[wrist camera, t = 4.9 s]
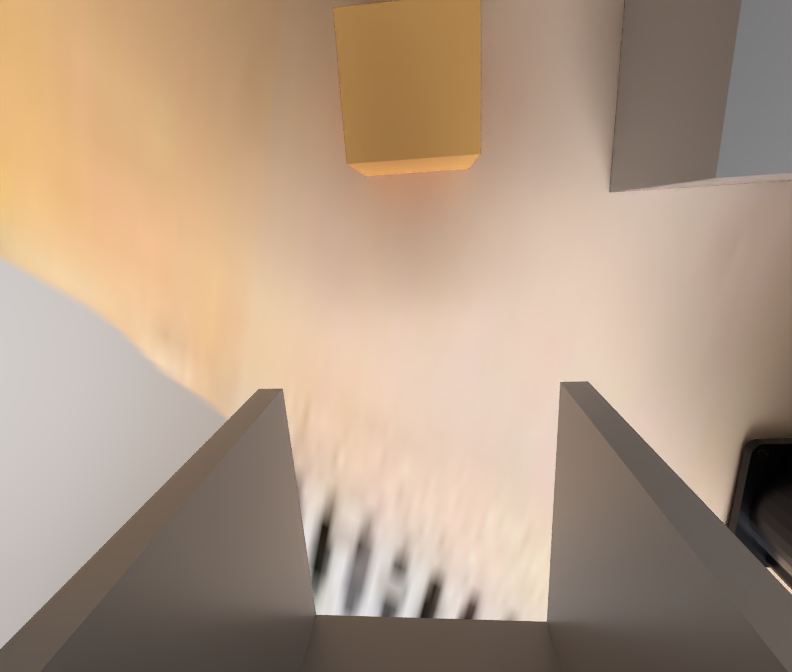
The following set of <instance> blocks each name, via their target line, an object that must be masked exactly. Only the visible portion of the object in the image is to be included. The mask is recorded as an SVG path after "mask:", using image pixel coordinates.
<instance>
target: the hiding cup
mask: <svg viewBox="0 0 792 672" xmlns="http://www.w3.org/2000/svg"><path fill="white" fill-rule="evenodd" d="M0 672H792V594H791V593H790V592H789V591H788V590H787V589H786V588H785V587H784V586H783V585H782V584H781V583H780V582H779V581H778V580H777V579H776V578H775V577H774V576H773V575H772V574H771V572H770V571H769V570H768V569H767V568H766V567H765V566H764V565H763V564H762V563H761V562H760V561H759V560H758V559H757V558H756V557H755V556H754V555H753V554H752V553H751V552H750V551H749V549H748V548H747V547H746V546H745V545H744V544H743V543H742V542H741V541H740V540H739V539H738V538H737V537H736V536H735V535H734V534H733V533H732V532H731V531H730V530H729V529H728V527H727V526H726V525H725V524H724V523H723V522H722V521H721V520H720V519H719V518H718V517H717V516H716V515H715V514H714V513H713V512H712V511H711V510H710V509H709V508H708V507H707V506H706V504H705V503H704V502H703V501H702V500H701V499H700V498H699V497H698V496H697V495H696V494H695V493H694V492H693V491H692V490H691V489H690V488H689V487H688V486H687V485H686V484H685V482H684V481H683V480H682V479H681V478H680V477H679V476H678V475H677V474H676V473H675V472H674V471H673V470H672V469H671V468H670V467H669V466H668V465H667V464H666V463H665V462H664V461H663V459H662V458H661V457H660V456H659V455H658V454H657V453H656V452H655V451H654V450H653V449H652V448H651V447H650V446H649V445H648V444H647V443H646V442H645V441H644V440H643V439H642V437H641V436H640V435H639V434H638V433H637V432H636V431H635V430H634V429H633V428H632V427H631V426H630V425H629V424H628V423H627V422H626V421H625V420H624V419H623V418H622V417H621V416H620V414H619V413H618V412H617V411H616V410H615V409H614V408H613V407H612V406H611V405H610V404H609V403H608V402H607V401H606V400H605V399H604V398H603V397H602V396H601V395H600V394H599V392H598V391H597V390H596V389H595V388H594V387H593V386H592V385H591V384H590V383H589V382H560V399H559V417H558V434H557V452H556V470H555V488H554V506H553V524H552V542H551V560H550V578H549V595H548V613H547V622H534V621H501V620H467V619H434V618H401V617H368V616H334V615H316V611H315V604H314V597H313V591H312V584H311V577H310V570H309V564H308V557H307V550H306V543H305V537H304V530H303V523H302V516H301V509H300V503H299V496H298V489H297V482H296V476H295V469H294V462H293V455H292V449H291V442H290V435H289V428H288V421H287V415H286V408H285V401H284V394H283V389H258V390H257V391H256V392H255V393H254V394H253V395H252V396H251V397H250V398H249V399H248V400H247V401H246V402H245V403H244V404H243V405H242V407H241V408H240V409H239V410H238V411H237V412H236V413H235V414H234V415H233V416H232V417H231V418H230V419H229V420H228V421H227V422H226V423H225V424H224V425H223V426H222V427H221V428H220V429H219V430H218V431H217V432H216V433H215V434H214V435H213V436H212V437H211V438H210V439H209V440H208V441H207V442H206V443H205V444H204V445H203V446H202V447H201V448H200V449H199V450H198V451H197V452H196V453H195V454H194V455H193V456H192V457H191V458H190V459H189V460H188V461H187V462H186V463H185V464H184V465H183V466H182V467H181V468H180V469H179V470H178V471H177V472H176V473H175V474H174V475H173V476H172V477H171V478H170V479H169V480H168V481H167V482H166V483H165V484H164V485H163V486H162V487H161V488H160V489H159V490H158V491H157V492H156V493H155V494H154V495H153V496H152V497H151V498H150V499H149V500H148V501H147V502H146V503H145V504H144V505H143V506H142V507H141V508H140V509H139V510H138V512H136V513H135V514H134V515H133V516H132V517H131V518H130V519H129V520H128V521H127V522H126V523H125V524H124V525H123V526H122V528H120V529H119V530H118V532H116V534H114V535H113V536H112V537H111V538H110V539H109V540H108V541H107V542H106V544H104V545H103V547H102V548H101V549H100V550H99V551H98V552H97V553H96V554H95V555H94V556H93V557H92V558H91V559H90V560H89V561H88V562H87V563H86V564H85V565H84V566H83V567H82V568H81V569H80V570H79V571H78V572H77V573H76V574H75V575H74V576H73V577H72V578H71V579H70V580H69V581H68V582H67V583H66V584H65V585H64V586H63V587H62V588H61V589H60V590H59V591H58V592H57V593H56V594H55V595H54V596H53V597H52V598H51V599H50V600H49V601H48V602H47V603H46V604H45V605H44V606H43V607H42V608H41V609H40V610H39V611H38V612H37V613H36V614H35V615H34V616H33V617H32V618H31V619H30V620H29V621H28V622H27V623H26V624H25V625H24V626H23V627H22V628H21V629H20V630H19V631H18V632H17V633H16V634H15V635H14V636H13V637H12V638H11V639H10V640H9V641H8V642H7V643H6V644H5V645H4V646H3V647H2V648H1V649H0Z"/></svg>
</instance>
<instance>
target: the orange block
mask: <svg viewBox="0 0 792 672" xmlns="http://www.w3.org/2000/svg"><path fill="white" fill-rule="evenodd" d="M333 12H334V23H335V35H336V46H337V58H338V69H339V81H340V93H341V104H342V116H343V127H344V139H345V150H346V162H347V165H349V166H351V167H352V168H354V169H355V170H357V171H358V172H360V173H362V174H363V175H365V176H376V175H390V174H404V173H417V172H431V171H445V170H459V169H469V168H470V166H471V165H472V164H473V163H474V162H475V160H476V159H477V158H478V157H479V156H480V154H481V0H398V1H389V2H379V3H370V4H361V5H352V6H343V7H334V8H333Z"/></svg>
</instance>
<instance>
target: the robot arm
mask: <svg viewBox="0 0 792 672" xmlns="http://www.w3.org/2000/svg"><path fill="white" fill-rule="evenodd" d="M762 449H763V450H762ZM760 450H762V452H760V453H759V454H758V452H759V451H760ZM728 529H729V530H730V531H731V532H732V533H733V534H734V535H735V536H736V537H737V538H738V539H739V540H740V541H741V542H742V543H743V544H744V545H745V546H746V547H747V548H748V549H749V551H750V552H751V553H752V554H753V555H754V556H755V557H756V558H757V559H758V560H759V561H760V562H761V563H762V564H763V565H764V566H765V567H770V568H771V569H772V570H773V571H774V572H775V573H776V574H777V575H778V576H779V577H780V578H781V579H782V580H783V581H784V582H785V583H786V584H787V585H788V586H789V587H790V588H791V589H792V438H785V439H755V440H752V441H750V442H749V443H748V444H747V445H746V446H745V448H744V453H743V457H742V462H741V467H740V472H739V477H738V482H737V487H736V492H735V497H734V502H733V507H732V512H731V517H730V522H729V527H728Z"/></svg>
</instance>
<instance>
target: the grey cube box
mask: <svg viewBox="0 0 792 672" xmlns="http://www.w3.org/2000/svg"><path fill="white" fill-rule="evenodd" d="M788 180H792V0H625V6H624V19H623V31H622V44H621V56H620V69H619V81H618V94H617V106H616V119H615V131H614V144H613V156H612V169H611V181H610V192H620V191H636V190H651V189H666V188H681V187H696V186H712V185H727V184H742V183H757V182H772V181H788Z"/></svg>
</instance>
